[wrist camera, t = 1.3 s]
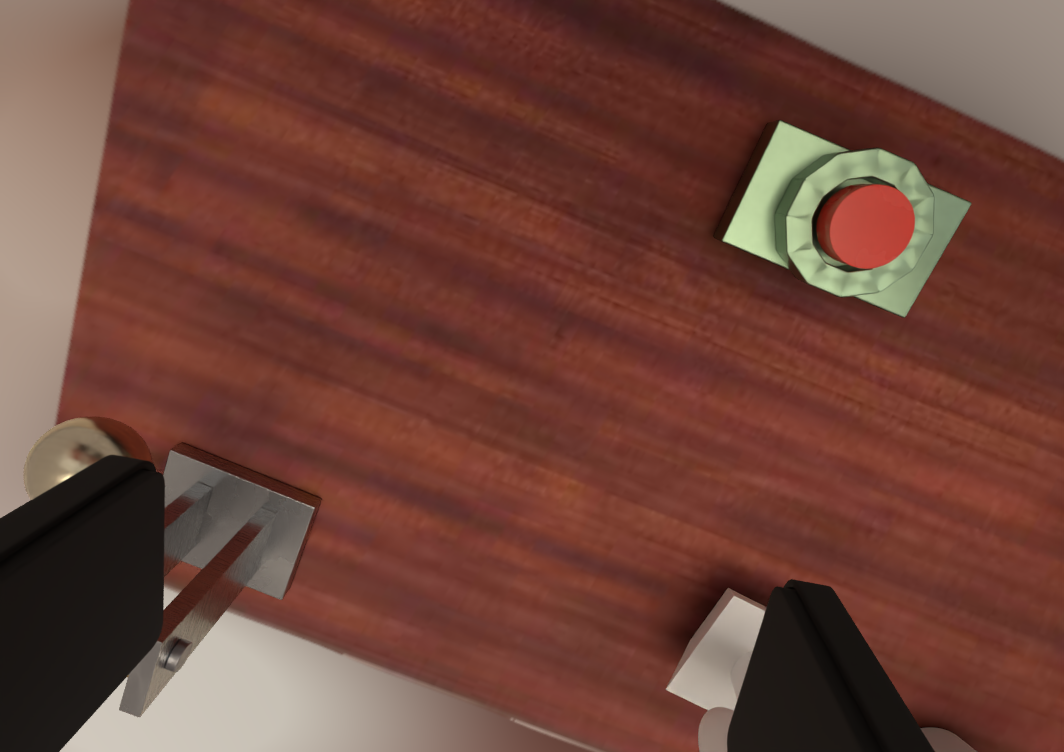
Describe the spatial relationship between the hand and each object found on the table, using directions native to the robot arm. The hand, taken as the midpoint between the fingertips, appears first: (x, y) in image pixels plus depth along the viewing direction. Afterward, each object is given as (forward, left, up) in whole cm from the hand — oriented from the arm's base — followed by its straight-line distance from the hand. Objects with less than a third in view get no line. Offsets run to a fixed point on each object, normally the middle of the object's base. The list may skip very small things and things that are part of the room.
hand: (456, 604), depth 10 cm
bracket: (+9, -22, -28) cm, 36 cm away
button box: (0, +15, -28) cm, 31 cm away
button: (0, +15, -24) cm, 28 cm away
